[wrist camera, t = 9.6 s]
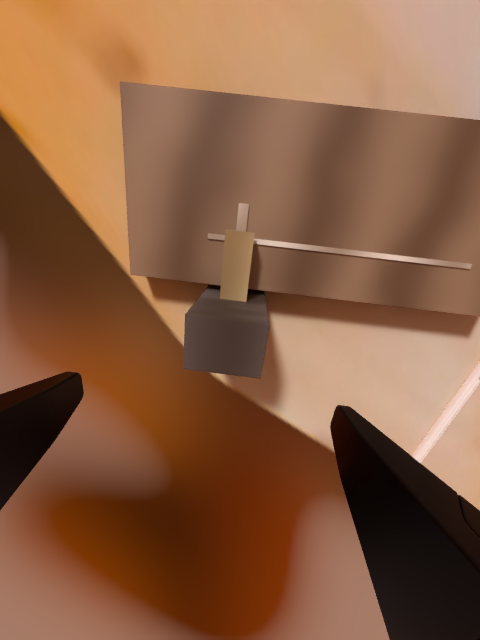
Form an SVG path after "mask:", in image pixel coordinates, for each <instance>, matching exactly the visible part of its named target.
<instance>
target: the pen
mask: <svg viewBox="0 0 480 640" xmlns="http://www.w3.org/2000/svg"><path fill="white" fill-rule="evenodd" d="M479 384H480V360H479V361H478V363H477V364H476V366H475V367H474V368H473V370H472V371H471V373H470V374H469V375H468V377H467V378H466V380H465V381H464V382H463V384H462V385H461V387H460V388H459V389H458V391H457V392H456V394H455V395H454V396H453V398H452V399H451V401H450V402H449V403H448V405H447V406H446V408H445V409H444V410H443V412H442V413H441V415H440V416H439V417H438V419H437V420H436V422H435V423H434V424H433V426H432V427H431V429H430V430H429V431H428V433H427V434H426V436H425V437H424V438H423V440H422V441H421V443H420V444H419V445H418V447H417V448H416V450H415V451H414V452H413V454H412V455H411V456H412V457H413V458H414V459H416V460H417V461H418V462H419V463H421V462H422V461H423V459H424V458H425V457H426V455H427V454H428V453H429V451H430V450H431V449H432V447H433V446H434V445H435V443H436V442H437V441H438V439H439V438H440V437H441V435H442V434H443V432H444V431H445V430H446V428H447V427H448V426H449V424H450V423H451V422H452V420H453V419H454V418H455V416H456V415H457V414H458V412H459V411H460V410H461V408H462V407H463V406H464V404H465V403H466V402H467V400H468V399H469V398H470V396H471V395H472V393H473V392H474V391H475V389H476V388H477V387H478V385H479Z"/></svg>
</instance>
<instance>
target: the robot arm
mask: <svg viewBox="0 0 480 640" xmlns="http://www.w3.org/2000/svg"><path fill="white" fill-rule="evenodd" d="M83 394H84V392H83V385H82V378H81V375H80V374H79V373H76V372H64V373H61V374H58V375H55V376H53V377H50V378H47V379H44V380H41V381H38V382H35V383H32V384H29V385H26V386H23V387H20V388H18V389H15V390H12V391H9V392H6V393H3V394H0V510H1V509H2V507H3V506H4V505H5V504H6V502H7V501H8V500H9V498H10V497H11V496H12V495H13V493H14V492H15V491H16V489H17V488H18V487H19V485H20V484H21V483H22V482H23V481H24V479H25V478H26V477H27V476H28V474H29V473H30V472H31V470H32V469H33V468H34V467H35V465H36V464H37V463H38V461H39V460H40V459H41V458H42V456H43V455H44V454H45V453H46V451H47V450H48V449H49V448H50V446H51V445H52V443H53V442H54V441H55V440H56V438H57V437H58V435H59V434H60V432H61V431H62V429H63V428H64V426H65V425H66V423H67V421H68V420H69V418H70V417H71V415H72V414H73V412H74V411H75V409H76V408H77V406H78V404H79V403H80V401H81V400H82V397H83ZM330 429H331V435H332V440H333V445H334V450H335V455H336V460H337V465H338V469H339V474H340V478H341V482H342V485H343V488H344V491H345V495H346V498H347V501H348V504H349V508H350V511H351V515H352V518H353V521H354V524H355V527H356V531H357V534H358V537H359V541H360V544H361V547H362V550H363V554H364V557H365V560H366V564H367V567H368V570H369V573H370V577H371V580H372V583H373V586H374V589H375V593H376V596H377V599H378V603H379V606H380V609H381V612H382V616H383V619H384V622H385V625H386V629H387V632H388V635H389V639H390V640H480V511H479V510H478V509H477V508H475V507H474V506H473V505H472V504H471V503H469V502H468V501H467V500H466V499H464V498H463V497H462V496H460V495H457V492H456V491H454V490H453V489H452V488H451V487H449V486H448V485H447V484H446V483H444V482H443V481H442V480H441V479H439V478H438V477H437V476H436V475H434V474H433V473H432V472H431V471H429V470H428V469H427V468H426V467H424V466H423V465H422V464H421V463H419V462H418V461H417V460H416V459H414V458H413V457H412V456H411V455H409V454H408V453H407V452H406V451H404V450H403V449H402V448H401V447H399V446H398V445H397V444H396V443H394V442H393V441H392V440H391V439H390V438H388V437H387V436H386V435H385V434H383V433H382V432H381V431H380V430H378V429H377V428H376V427H375V426H373V425H372V424H371V423H370V422H368V421H367V420H366V419H365V418H363V417H362V416H361V415H360V414H358V413H357V412H356V411H355V410H353V409H352V408H351V407H349V406H342V405H338V406H337V407H336V408H335V411H334V415H333V418H332V421H331V426H330Z"/></svg>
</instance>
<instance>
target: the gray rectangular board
mask: <svg viewBox="0 0 480 640" xmlns="http://www.w3.org/2000/svg"><path fill="white" fill-rule="evenodd" d="M120 91H121V110H122V128H123V146H124V165H125V183H126V201H127V219H128V238H129V256H130V274H131V275H137V276H146V277H154V278H162V279H171V280H179V281H187V282H196V283H204V284H212V285H221V277H222V265H223V252H224V240H225V230H236V231H245V232H253V233H255V234H254V243H253V251H252V259H251V267H250V275H249V284H248V289H254V290H263V291H271V292H279V293H288V294H296V295H304V296H313V297H321V298H329V299H338V300H346V301H355V302H363V303H371V304H380V305H388V306H396V307H405V308H413V309H421V310H430V311H438V312H447V313H455V314H463V315H472V316H480V120H473V119H464V118H455V117H445V116H436V115H427V114H417V113H408V112H399V111H389V110H380V109H371V108H362V107H352V106H343V105H334V104H324V103H315V102H306V101H297V100H287V99H278V98H269V97H259V96H250V95H241V94H232V93H222V92H213V91H204V90H194V89H185V88H176V87H166V86H157V85H148V84H139V83H129V82H120Z"/></svg>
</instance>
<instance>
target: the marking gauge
mask: <svg viewBox="0 0 480 640" xmlns="http://www.w3.org/2000/svg"><path fill="white" fill-rule="evenodd" d="M254 234H255V233H253V232H245V231H236V230H225V240H224V252H223V265H222V277H221V285H212V284H209V286H208V287H207V288H206V289H205V291H204V292H203V293H202V294H201V296H200V297H199V298H198V299H197V301H196V302H195V303H194V304H193V306H192V307H191V308H190V309H189V310H188V312H187V313H186V314H185V338H184V369H188V370H197V371H204V372H212V373H220V374H228V375H236V376H244V377H252V378H260V379H261V372H262V366H263V360H264V354H265V348H266V342H267V336H268V330H269V320H268V313H267V306H266V300H265V293H264V291H263V290H254V289H248V284H249V275H250V267H251V259H252V251H253V243H254Z"/></svg>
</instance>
